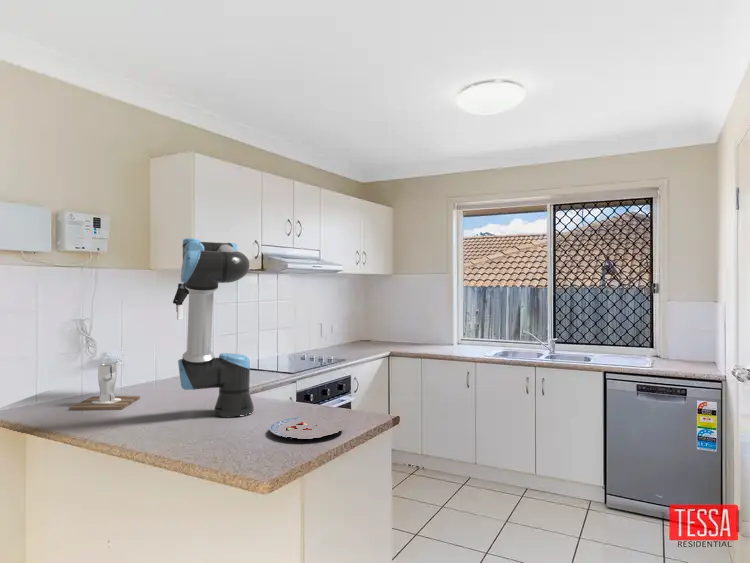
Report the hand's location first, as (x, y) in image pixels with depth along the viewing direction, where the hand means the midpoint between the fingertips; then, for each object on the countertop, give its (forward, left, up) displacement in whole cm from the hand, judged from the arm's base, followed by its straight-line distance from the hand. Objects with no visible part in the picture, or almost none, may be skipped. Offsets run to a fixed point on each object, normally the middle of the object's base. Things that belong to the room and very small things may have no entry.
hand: (190, 320), depth 227 cm
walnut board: (-12, +31, -35) cm, 48 cm away
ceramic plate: (-58, -55, -35) cm, 87 cm away
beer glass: (-12, +31, -33) cm, 47 cm away
